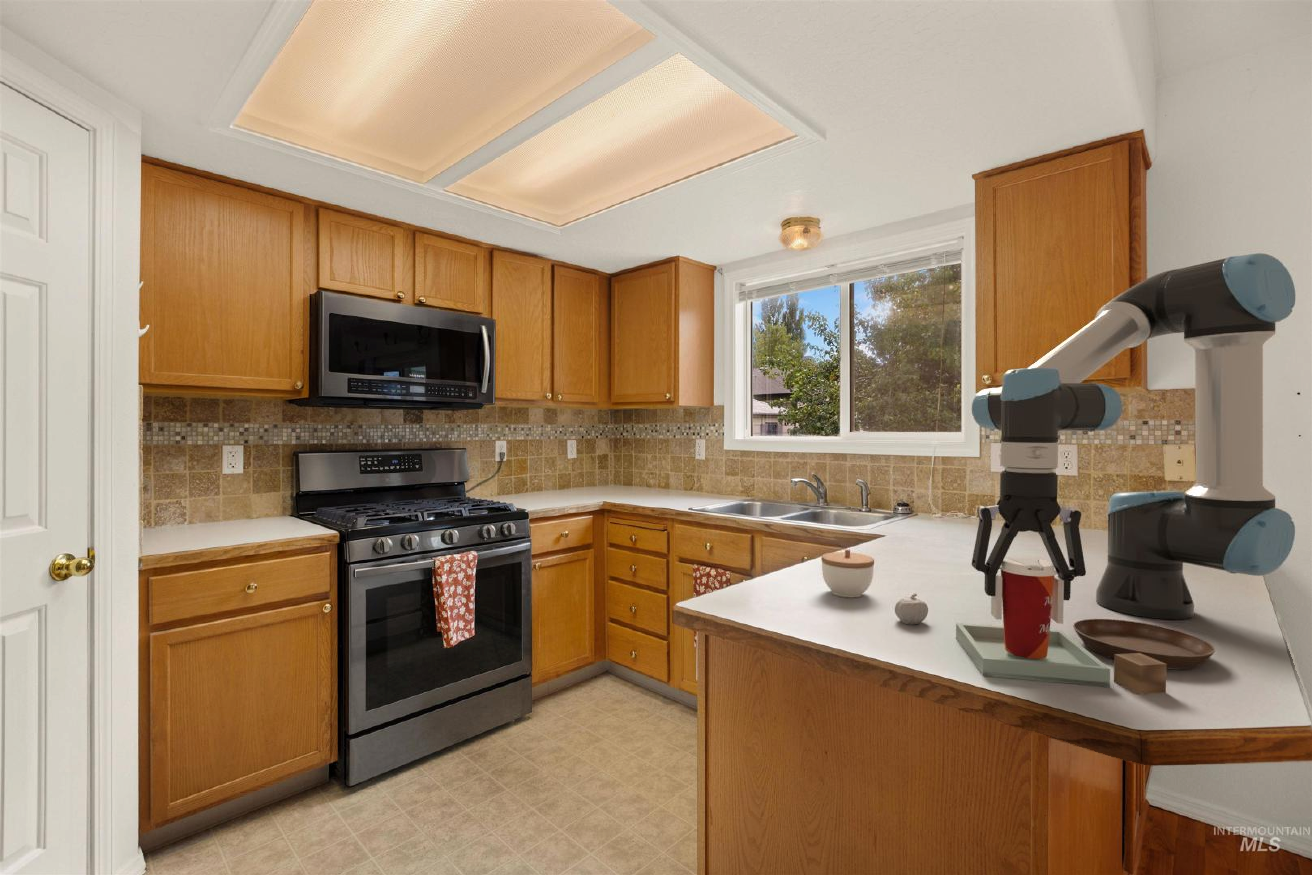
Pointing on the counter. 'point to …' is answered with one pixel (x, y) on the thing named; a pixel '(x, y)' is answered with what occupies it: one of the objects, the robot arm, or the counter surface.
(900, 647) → the counter surface
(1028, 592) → the paper cup
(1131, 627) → the plant saucer
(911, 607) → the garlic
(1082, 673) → the tray
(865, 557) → the lidded jar
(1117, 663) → the walnut block
